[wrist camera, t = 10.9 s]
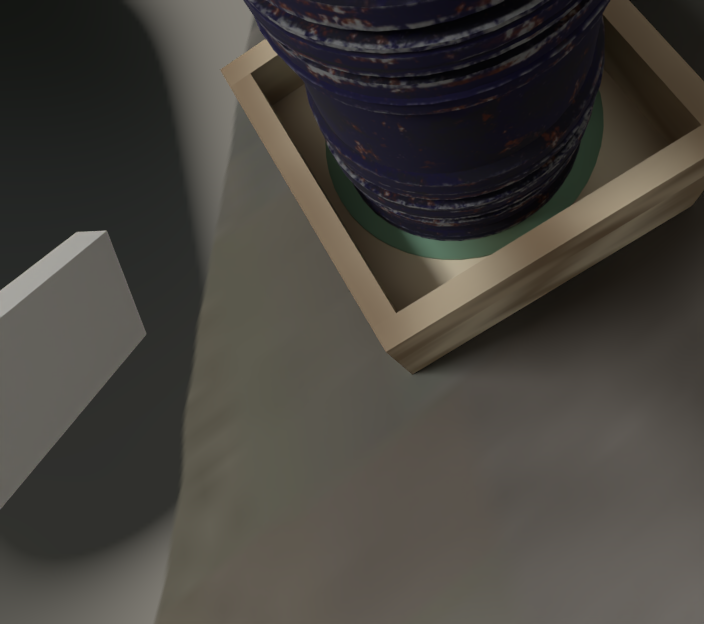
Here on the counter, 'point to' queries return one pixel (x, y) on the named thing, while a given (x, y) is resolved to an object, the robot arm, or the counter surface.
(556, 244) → the open wooden box
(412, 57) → the blue metal drum
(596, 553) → the counter surface
